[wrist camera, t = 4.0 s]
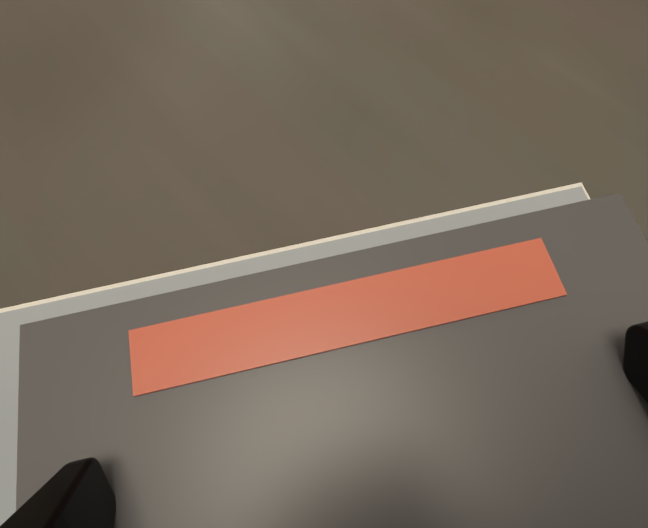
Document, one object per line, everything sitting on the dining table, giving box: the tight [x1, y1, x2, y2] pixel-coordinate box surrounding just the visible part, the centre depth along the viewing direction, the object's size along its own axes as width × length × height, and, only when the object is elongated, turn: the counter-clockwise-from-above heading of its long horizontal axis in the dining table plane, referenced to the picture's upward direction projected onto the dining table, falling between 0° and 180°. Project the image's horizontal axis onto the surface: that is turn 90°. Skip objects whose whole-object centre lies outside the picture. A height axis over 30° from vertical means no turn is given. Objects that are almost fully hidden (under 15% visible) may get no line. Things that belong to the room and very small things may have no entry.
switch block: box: [0, 183, 590, 526], centre depth 13 cm, size 9×29×8 cm, turn 103°
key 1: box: [16, 193, 648, 528], centre depth 9 cm, size 6×12×2 cm, turn 103°
